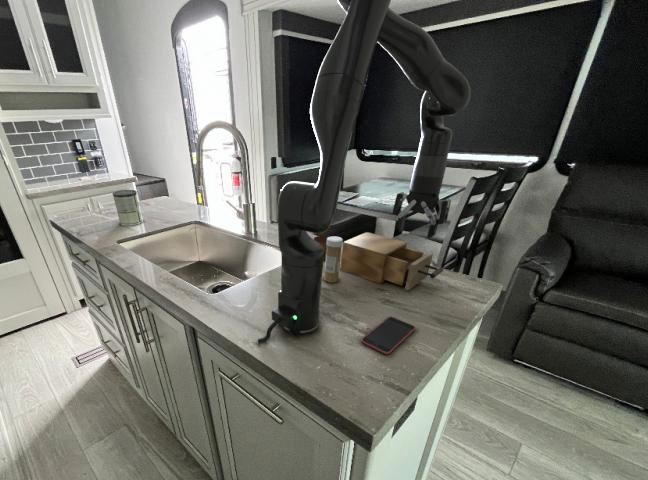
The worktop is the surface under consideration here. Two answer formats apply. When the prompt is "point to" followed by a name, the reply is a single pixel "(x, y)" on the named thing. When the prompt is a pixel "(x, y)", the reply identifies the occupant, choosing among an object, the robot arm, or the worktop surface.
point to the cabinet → (368, 255)
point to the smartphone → (388, 335)
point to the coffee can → (128, 207)
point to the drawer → (417, 271)
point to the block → (408, 266)
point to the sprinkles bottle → (333, 258)
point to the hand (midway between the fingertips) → (414, 233)
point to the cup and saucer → (322, 243)
